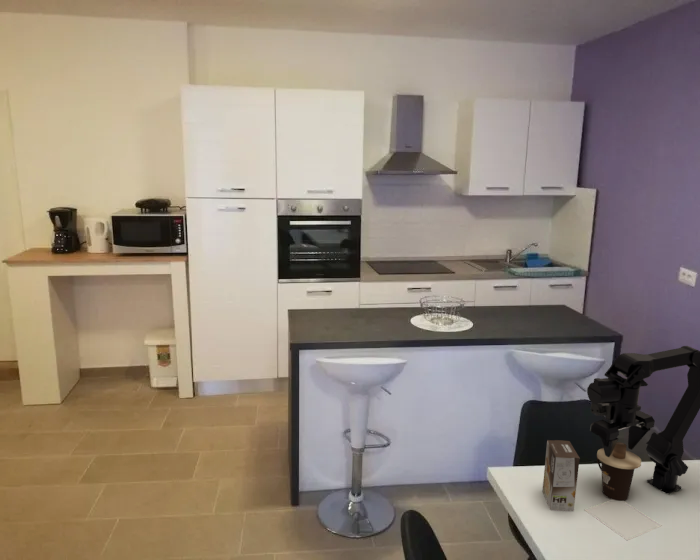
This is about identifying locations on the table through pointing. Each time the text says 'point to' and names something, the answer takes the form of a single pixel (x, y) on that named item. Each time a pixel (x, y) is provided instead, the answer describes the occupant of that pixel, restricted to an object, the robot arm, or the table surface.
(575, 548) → the table surface
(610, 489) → the coffee mug
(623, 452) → the lid
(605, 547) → the table surface
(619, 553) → the table surface
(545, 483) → the coffee box
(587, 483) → the table surface
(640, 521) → the mat
